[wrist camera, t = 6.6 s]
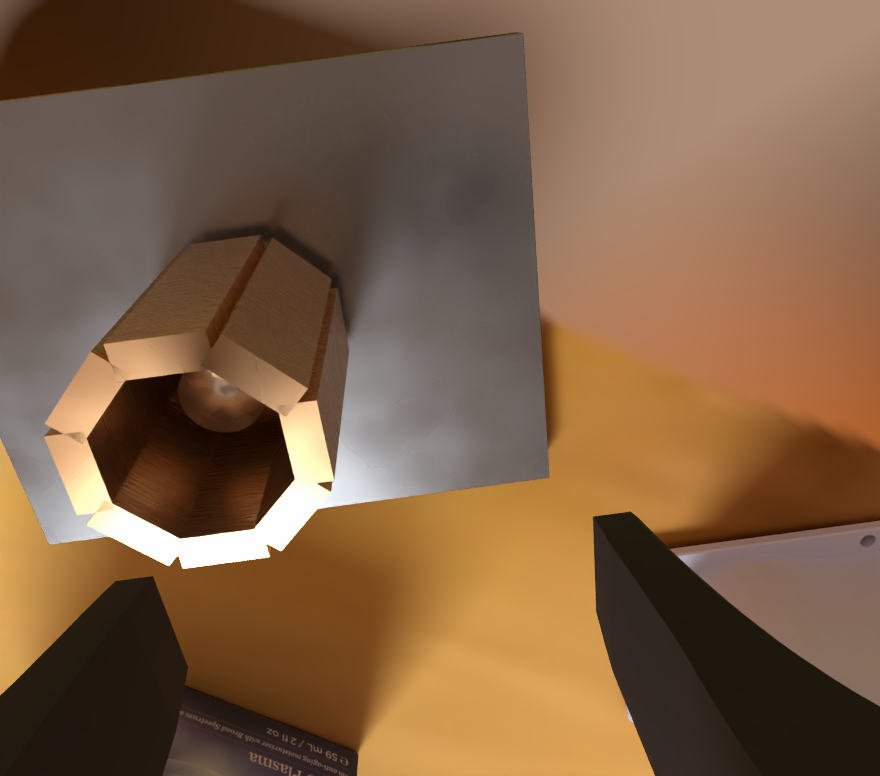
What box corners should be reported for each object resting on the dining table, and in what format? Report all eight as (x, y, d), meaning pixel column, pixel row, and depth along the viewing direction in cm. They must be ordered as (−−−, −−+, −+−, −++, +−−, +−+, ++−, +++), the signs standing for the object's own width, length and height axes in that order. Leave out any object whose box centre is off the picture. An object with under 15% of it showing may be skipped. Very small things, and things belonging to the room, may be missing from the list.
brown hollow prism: (326, 226, 17) (299, 318, 12) (359, 402, 20) (348, 546, 14) (125, 253, 17) (10, 356, 12) (181, 426, 20) (104, 578, 14)
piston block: (515, 32, 17) (560, 37, 13) (542, 459, 23) (580, 567, 18) (-116, 115, 17) (-292, 150, 13) (62, 524, 23) (-18, 647, 18)
